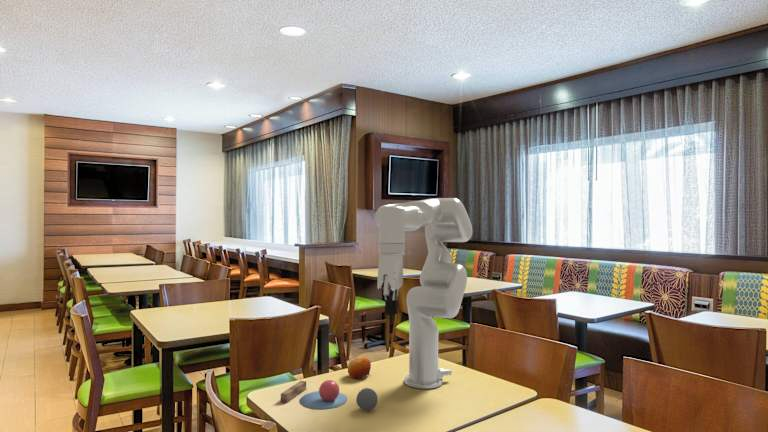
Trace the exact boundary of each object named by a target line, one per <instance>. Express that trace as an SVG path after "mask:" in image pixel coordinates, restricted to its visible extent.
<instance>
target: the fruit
mask: <svg viewBox="0 0 768 432" xmlns="http://www.w3.org/2000/svg"><path fill="white" fill-rule="evenodd" d="M371 367H372V364H371V361H370V359H369V357H366V356H363V355H359V356H357V357H354V358H353V359H351V360H350V361H349V363H348V366H347V373H348V375H349V376H350V377H351V378H353V379H355V380H359V379H360V380H361V379H367V376H370V372H371Z"/></svg>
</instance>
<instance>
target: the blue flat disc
mask: <svg viewBox="0 0 768 432" xmlns="http://www.w3.org/2000/svg"><path fill="white" fill-rule="evenodd" d="M347 402H348V397H347V395H346V394H344V393H342V392H340V391H339V395H338V397H337V398H336V399H335V400H333V401H329V402H328V401H325V400H323V399H322V398H321V397H320V394H319V390H318V391H312V392H309V393H306V394H303V395H302V396H301V397H300V399H299V404H301V405H302V406H303V407H305V408H308V409H314V410H329V409H336V408H338V407H341V406H343V405H345V404H346V403H347Z"/></svg>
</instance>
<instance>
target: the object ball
mask: <svg viewBox="0 0 768 432" xmlns="http://www.w3.org/2000/svg"><path fill="white" fill-rule="evenodd" d="M318 391H319V394H320V397H321V398H322V399H323V400H325V401H328V402H329V401H333V400H335V399H336V398H337V397H338V395H339V392H340V387H339V384H338V383H337V381H334V380H332V379H327V380H325V381H323V382H322V383H321V384H320V386H319V388H318Z"/></svg>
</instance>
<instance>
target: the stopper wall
mask: <svg viewBox="0 0 768 432" xmlns="http://www.w3.org/2000/svg"><path fill="white" fill-rule="evenodd" d="M306 390H307V381H304V380H299V381H298V382H297V383H294V384H293V385H292V386H289V388H287V389H286V390H284V391H283V392H281V393H280V403H283V404H287V403H289V402H290V401H292V400H293V399H294V398H296V397H298V396H299V395H300V394H302V393H303V392H304V391H306Z"/></svg>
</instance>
